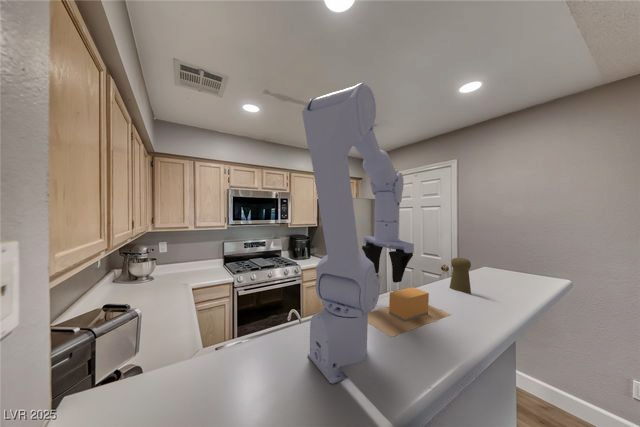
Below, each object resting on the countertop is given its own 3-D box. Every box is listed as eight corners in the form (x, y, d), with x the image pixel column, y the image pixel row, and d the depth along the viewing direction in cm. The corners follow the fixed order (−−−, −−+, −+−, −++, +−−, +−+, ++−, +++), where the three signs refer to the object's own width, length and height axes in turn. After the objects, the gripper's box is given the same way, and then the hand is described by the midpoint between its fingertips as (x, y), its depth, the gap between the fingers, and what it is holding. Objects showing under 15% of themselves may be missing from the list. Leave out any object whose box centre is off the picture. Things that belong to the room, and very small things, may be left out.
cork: (475, 298, 68) (476, 261, 68) (452, 296, 70) (454, 259, 69) (466, 290, 74) (467, 256, 74) (446, 289, 76) (447, 255, 75)
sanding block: (404, 322, 50) (405, 299, 50) (389, 313, 54) (389, 292, 54) (428, 314, 54) (428, 292, 54) (411, 306, 58) (412, 287, 58)
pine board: (390, 345, 44) (391, 337, 44) (357, 321, 53) (357, 315, 53) (451, 320, 54) (451, 314, 54) (414, 304, 63) (415, 299, 63)
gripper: (423, 223, 51) (421, 283, 52) (377, 219, 64) (376, 268, 64) (401, 223, 48) (399, 288, 48) (357, 219, 61) (356, 271, 61)
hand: (385, 277), depth 56 cm, fingers open, 7 cm apart
